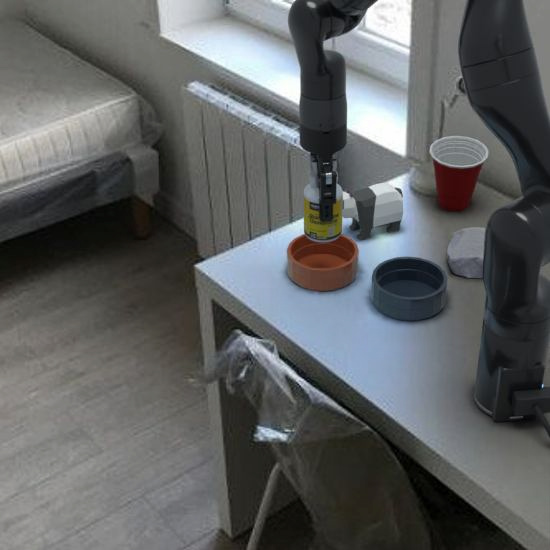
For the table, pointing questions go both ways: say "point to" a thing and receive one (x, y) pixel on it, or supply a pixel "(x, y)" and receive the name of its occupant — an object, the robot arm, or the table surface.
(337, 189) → the pill bottle
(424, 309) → the metal bowl
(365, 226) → the giant panda
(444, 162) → the plastic cup
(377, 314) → the table surface
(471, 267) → the stone block
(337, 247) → the terracotta bowl
